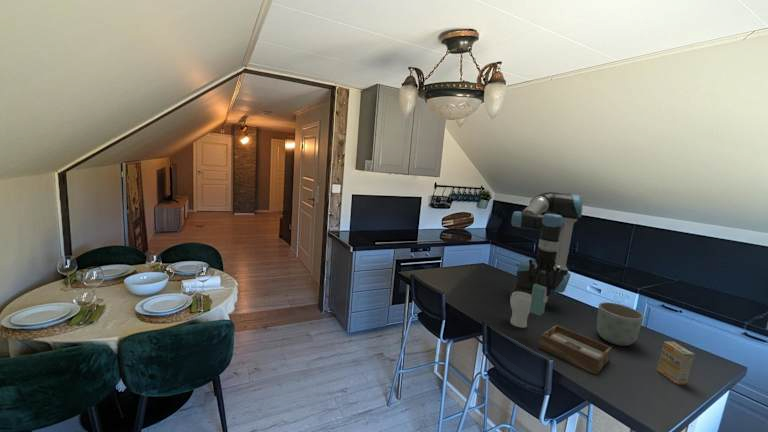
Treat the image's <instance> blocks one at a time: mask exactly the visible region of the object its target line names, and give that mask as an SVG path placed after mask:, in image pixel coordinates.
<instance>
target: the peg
mask: <svg viewBox="0 0 768 432" xmlns="http://www.w3.org/2000/svg"><path fill="white" fill-rule="evenodd" d="M545 288H547V287H544V286H541V285H536V286H534V288H533V294H532V300H531V306H530V313H532V314H534V315H537V316H541V315H544V313H545V309H546V303H547V302H546V303H543V297H544V291H545Z"/></svg>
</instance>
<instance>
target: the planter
mask: <svg viewBox="0 0 768 432" xmlns="http://www.w3.org/2000/svg"><path fill="white" fill-rule="evenodd" d="M644 319H645V316H644V315H643V313H641V312H640V311H638V310H637V309H634V308H633V307H629V306H626V305H623V304H620V303H616V302H615V303H614V302H606V301H605V302H604V301H603V302H600V303H599V304H598V309H597V319H596V330H597V333H598V335H599V336H600V337H601V338H602V339H603V340H604V341H606V342H608V343H610V344H613V345H617V346H619V347H620V346H621V347H628V346H630V345H632V344H634V343H635V341H636V340H637V338H638V336H639V333H640V330H641V328H642V325H643V321H644Z"/></svg>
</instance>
